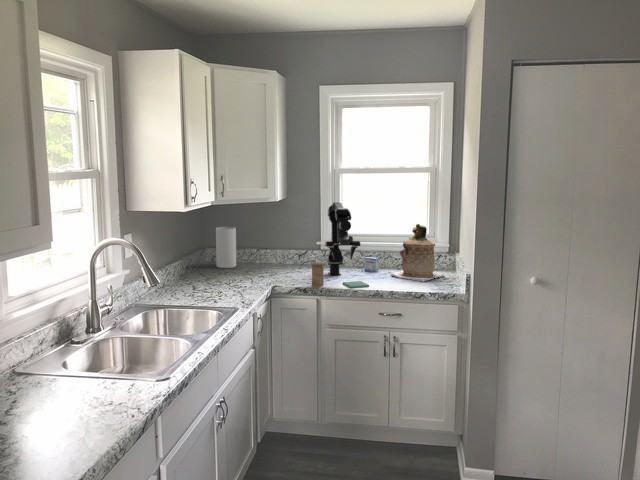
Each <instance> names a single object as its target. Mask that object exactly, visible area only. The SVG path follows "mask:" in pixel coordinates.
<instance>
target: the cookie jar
mask: <svg viewBox="0 0 640 480" xmlns="http://www.w3.org/2000/svg"><path fill="white" fill-rule="evenodd" d="M412 233H413V235H412V236H411V237H409V238H408V239H407V240H405V239H404V241H403V244H402V247H403V250H402V249H400V250H399V251H398V253H399V255H400V257H401V258H402V260H401V265H400V266H401V267H402V270H400V271H396V272H389V275H390V276H393V277H395V278H397V279H398V278H401V279H406V280H413V281H418V282H422V283H425V281H430V280H435V279H437V278H438V277H439V278H443V277H442V276H444V277H445V273H442V272H434V270H435V260H436V259H435V246H436V242H434V241H430V240H429V239H428V238H427V227H426V226H424V225H421V224H419V223H417V224H415V226H414V227H413V228H412ZM434 278H435V279H434ZM439 278H438V279H439Z"/></svg>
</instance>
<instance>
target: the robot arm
mask: <svg viewBox="0 0 640 480" xmlns="http://www.w3.org/2000/svg"><path fill="white" fill-rule="evenodd" d="M342 204H343V203H342V202H332V205H330V206H329V207H328V209H327V217H328V220H329V222H330V223H331V226H330V227H331V241H329V240H328V241H327V240H326V241H325V242H324V243H325V244H324V246H325V248H326V247H327V249H329V252H328V254H327V260H326V264H327V265H328V266H329V272H327V273H328V275H329V276H341V275H342V274H341V273H340V265H341V266H342V265H343V261H344V256H343V253H342V250H341V248H340V246H350V256H349V258H350V260H352V259H353V258H354V257H353V256H354V253H355V251H356V250H357V249H358V248H359V247H361V242H360V240H354V238H353V237H354V236H353V235H349V233H348V232H349V231H350V229H351V228H352V224H351V222H350V221H351V220H352V215H351V211H350V210H349V208H347V207H344V206H343V205H342Z"/></svg>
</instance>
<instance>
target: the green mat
mask: <svg viewBox="0 0 640 480" xmlns="http://www.w3.org/2000/svg"><path fill="white" fill-rule="evenodd" d="M342 285H344V286H346V287H347V288H350V289H357V288H358V289H359V288H360V289H361V288H369V287H370V284H368V283H365V282H364V281H361V280H355V281H342Z"/></svg>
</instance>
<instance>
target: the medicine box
mask: <svg viewBox="0 0 640 480" xmlns="http://www.w3.org/2000/svg"><path fill="white" fill-rule="evenodd" d="M379 263H380V258H378V257H371V256H370V257H369V256H366V257H364V272H367V273H378V272H379V270H380V268H379V266H380V265H379Z"/></svg>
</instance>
